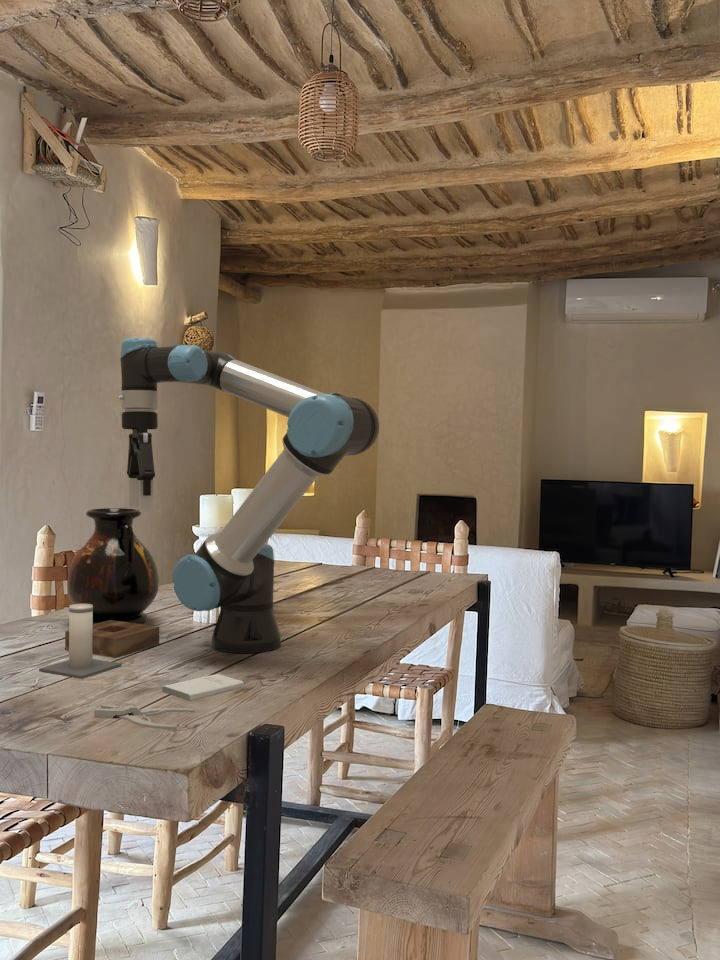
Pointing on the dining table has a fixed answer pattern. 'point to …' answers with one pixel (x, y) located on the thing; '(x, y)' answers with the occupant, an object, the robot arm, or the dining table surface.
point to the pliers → (123, 713)
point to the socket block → (120, 638)
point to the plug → (80, 635)
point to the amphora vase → (114, 569)
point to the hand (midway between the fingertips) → (140, 509)
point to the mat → (64, 669)
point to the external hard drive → (203, 687)
